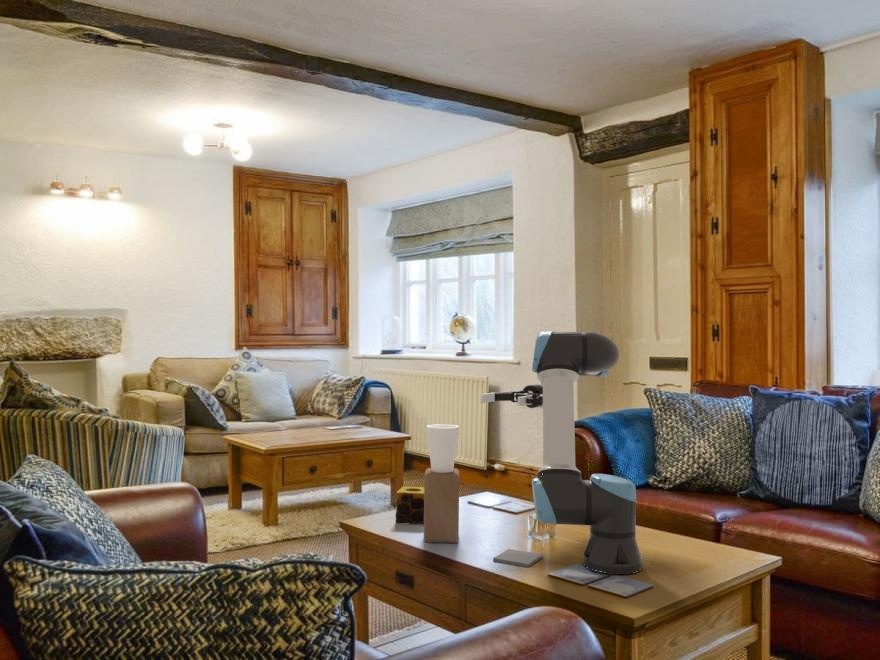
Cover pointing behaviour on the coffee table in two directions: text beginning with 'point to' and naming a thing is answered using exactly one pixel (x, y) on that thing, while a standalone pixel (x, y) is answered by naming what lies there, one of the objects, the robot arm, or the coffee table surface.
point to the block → (441, 506)
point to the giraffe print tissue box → (410, 505)
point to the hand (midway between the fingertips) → (499, 400)
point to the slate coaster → (518, 557)
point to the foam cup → (442, 446)
